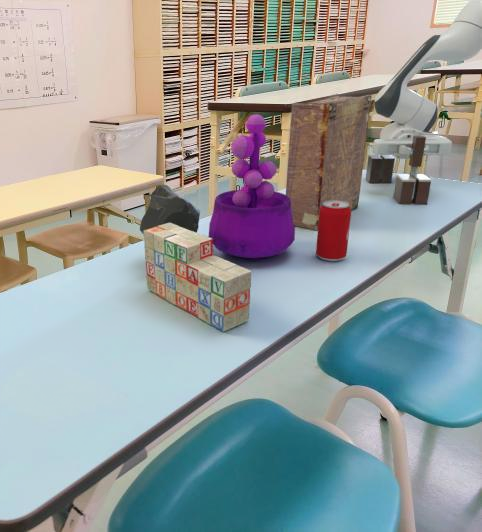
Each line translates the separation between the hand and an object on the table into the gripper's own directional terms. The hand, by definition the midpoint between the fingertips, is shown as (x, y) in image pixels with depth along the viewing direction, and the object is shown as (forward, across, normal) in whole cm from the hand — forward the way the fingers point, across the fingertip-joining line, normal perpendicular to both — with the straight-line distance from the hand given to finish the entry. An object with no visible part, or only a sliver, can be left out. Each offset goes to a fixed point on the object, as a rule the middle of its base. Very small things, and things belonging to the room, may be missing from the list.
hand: (418, 151), depth 142 cm
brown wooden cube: (-1, 0, +14) cm, 14 cm away
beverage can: (+46, -28, +14) cm, 55 cm away
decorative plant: (+44, -45, +14) cm, 64 cm away
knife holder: (-25, -3, +14) cm, 29 cm away
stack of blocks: (+71, -55, +14) cm, 91 cm away
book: (+15, -26, +14) cm, 33 cm away
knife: (-1, 0, +13) cm, 13 cm away
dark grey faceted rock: (+54, -62, +14) cm, 83 cm away
